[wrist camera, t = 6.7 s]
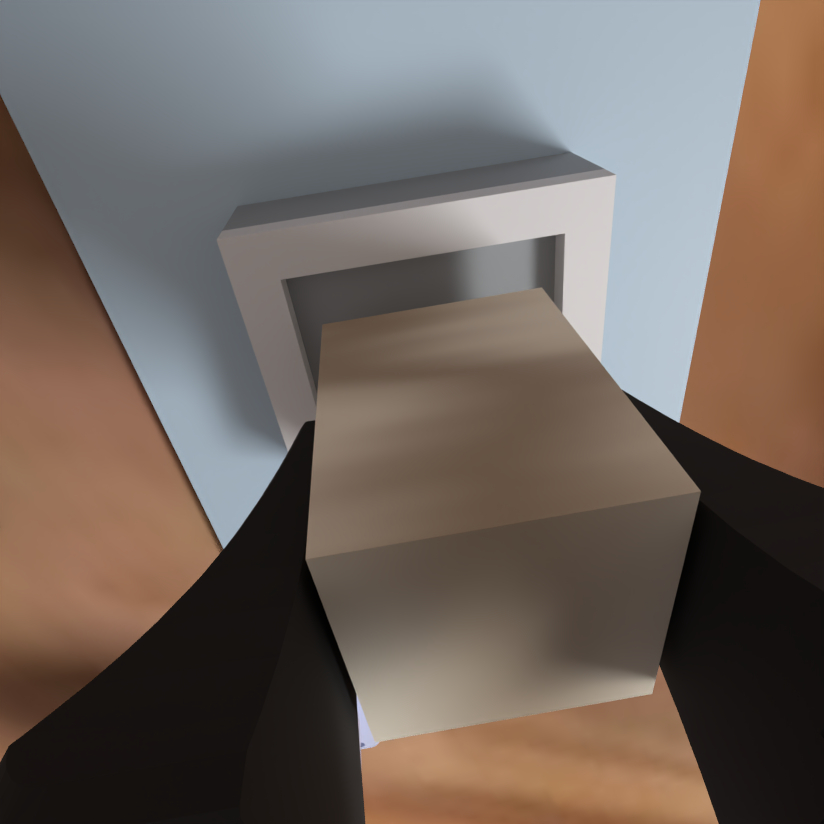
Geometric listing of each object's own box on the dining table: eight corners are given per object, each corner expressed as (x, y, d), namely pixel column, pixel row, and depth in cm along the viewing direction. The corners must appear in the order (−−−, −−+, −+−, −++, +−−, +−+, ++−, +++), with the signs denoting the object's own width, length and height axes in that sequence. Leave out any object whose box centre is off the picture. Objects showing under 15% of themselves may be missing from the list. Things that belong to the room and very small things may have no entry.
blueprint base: (249, 589, 21) (237, 662, 19) (-89, -111, 10) (-235, -161, 7) (653, 521, 21) (694, 584, 19) (793, -247, 10) (944, -341, 7)
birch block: (363, 486, 14) (374, 742, 9) (322, 324, 11) (305, 559, 6) (540, 456, 14) (652, 694, 9) (542, 286, 11) (701, 491, 6)
